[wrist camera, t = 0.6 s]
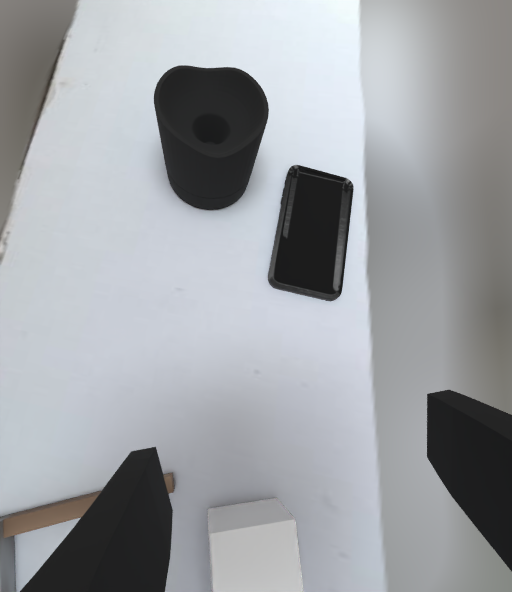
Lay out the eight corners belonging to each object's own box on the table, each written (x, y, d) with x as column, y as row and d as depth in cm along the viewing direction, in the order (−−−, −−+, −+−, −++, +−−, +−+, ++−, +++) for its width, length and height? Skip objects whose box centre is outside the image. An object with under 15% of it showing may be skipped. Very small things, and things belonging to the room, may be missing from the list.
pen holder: (219, 230, 37) (227, 171, 27) (146, 181, 37) (129, 105, 27) (266, 171, 40) (288, 99, 30) (198, 126, 40) (199, 41, 31)
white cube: (211, 593, 27) (215, 643, 22) (207, 508, 29) (209, 533, 23) (285, 578, 29) (307, 622, 23) (277, 497, 30) (295, 518, 25)
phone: (354, 180, 40) (340, 301, 36) (350, 186, 41) (336, 304, 37) (289, 162, 40) (266, 283, 35) (286, 168, 41) (264, 287, 36)
